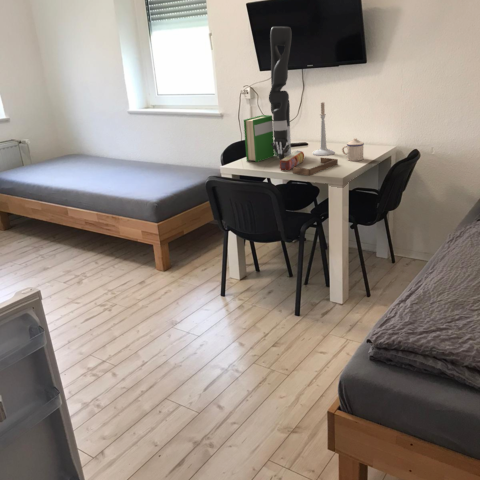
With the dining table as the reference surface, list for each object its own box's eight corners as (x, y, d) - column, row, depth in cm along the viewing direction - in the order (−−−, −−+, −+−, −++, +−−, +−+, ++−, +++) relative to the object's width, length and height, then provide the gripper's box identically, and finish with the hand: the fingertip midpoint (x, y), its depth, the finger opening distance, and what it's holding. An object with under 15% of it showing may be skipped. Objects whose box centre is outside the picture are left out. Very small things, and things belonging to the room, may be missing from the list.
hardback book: (256, 162, 299) (253, 120, 290) (246, 161, 303) (243, 119, 295) (274, 155, 312) (272, 115, 303) (264, 155, 316) (261, 115, 308)
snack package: (290, 171, 273) (289, 158, 270) (278, 170, 276) (278, 158, 273) (304, 162, 290) (304, 150, 288) (293, 162, 293) (293, 150, 291)
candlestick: (333, 150, 312) (333, 99, 302) (335, 155, 301) (334, 102, 290) (312, 152, 314) (311, 101, 303) (313, 156, 302) (311, 103, 292)
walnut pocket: (293, 173, 267) (292, 167, 266) (321, 162, 285) (321, 157, 284) (309, 175, 261) (309, 169, 260) (337, 164, 278) (337, 159, 277)
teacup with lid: (365, 158, 288) (366, 137, 283) (360, 161, 280) (360, 140, 276) (345, 157, 293) (345, 136, 289) (339, 160, 286) (339, 139, 282)
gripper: (266, 129, 282) (268, 160, 288) (285, 130, 273) (287, 162, 279) (275, 127, 287) (276, 158, 293) (294, 128, 278) (295, 160, 284)
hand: (281, 160), depth 286 cm, fingers closed
